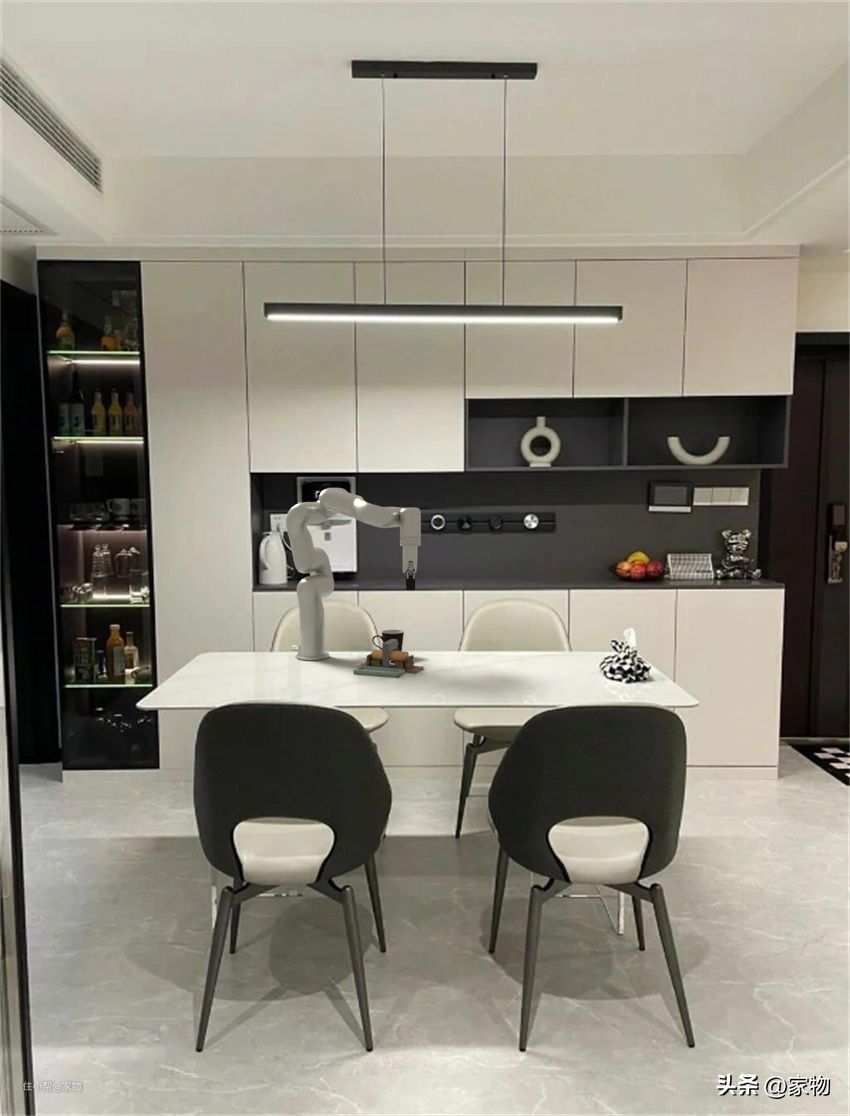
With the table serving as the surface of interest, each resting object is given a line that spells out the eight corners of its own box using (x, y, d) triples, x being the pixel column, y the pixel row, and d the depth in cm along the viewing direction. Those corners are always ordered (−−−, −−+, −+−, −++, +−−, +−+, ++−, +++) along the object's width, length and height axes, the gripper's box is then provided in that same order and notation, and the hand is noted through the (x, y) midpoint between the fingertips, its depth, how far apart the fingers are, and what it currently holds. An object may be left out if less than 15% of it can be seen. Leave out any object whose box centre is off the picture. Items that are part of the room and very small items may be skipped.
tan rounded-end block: (371, 660, 284) (371, 650, 283) (375, 658, 287) (375, 648, 287) (405, 662, 279) (405, 652, 279) (408, 660, 283) (408, 650, 282)
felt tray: (353, 674, 276) (353, 669, 276) (360, 670, 282) (360, 665, 282) (398, 677, 270) (398, 673, 270) (405, 673, 277) (405, 669, 276)
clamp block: (357, 669, 284) (356, 655, 283) (365, 664, 291) (364, 651, 290) (416, 673, 276) (416, 659, 276) (423, 669, 283) (423, 655, 283)
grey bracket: (382, 668, 280) (382, 643, 279) (391, 662, 288) (391, 638, 287) (388, 668, 279) (388, 643, 278) (397, 663, 287) (397, 639, 286)
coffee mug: (406, 655, 307) (406, 630, 306) (400, 659, 299) (400, 634, 298) (378, 653, 310) (378, 628, 309) (371, 658, 302) (371, 632, 301)
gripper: (400, 540, 293) (400, 585, 295) (400, 543, 276) (400, 591, 277) (420, 539, 293) (420, 585, 295) (421, 543, 276) (421, 591, 278)
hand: (410, 588), depth 286 cm, fingers open, 9 cm apart
